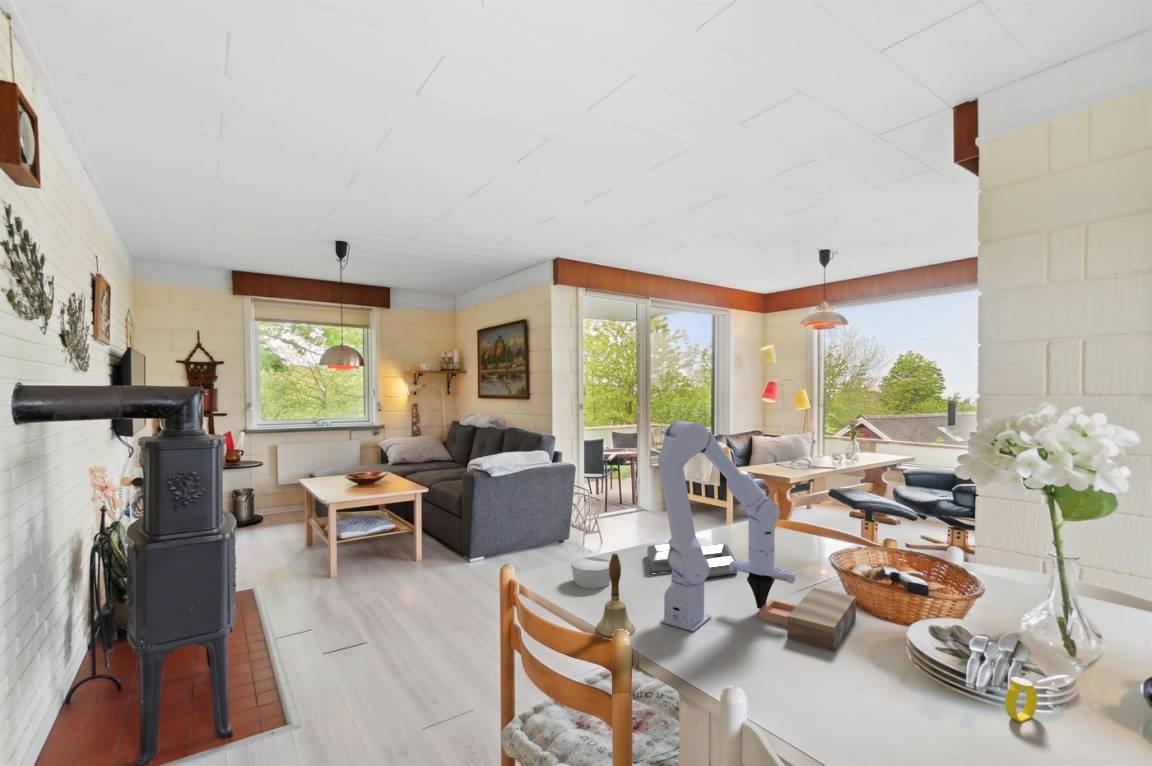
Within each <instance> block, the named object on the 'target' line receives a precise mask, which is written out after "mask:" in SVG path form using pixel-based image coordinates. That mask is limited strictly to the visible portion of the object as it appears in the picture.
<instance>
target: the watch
mask: <svg viewBox="0 0 1152 766" xmlns="http://www.w3.org/2000/svg"><path fill="white" fill-rule="evenodd" d="M1009 683H1010V684H1011V685H1010V686H1009V687H1008V689H1007V692H1006V694H1005V695H1006V696H1005V703H1004V704H1005V705H1004V707H1005V710H1006V714H1007V716H1008V717H1009V718H1011V719H1012V720H1014V721H1016V722H1018V723H1023V722H1025V721H1028V720H1030V719H1033V717H1034V714H1035V712H1036V709H1037V706H1038V705H1037V704H1038V694H1037V691H1036V689H1035V687H1034V685H1033V682H1031V681H1030V680H1028V679H1026V678H1023V677H1017V676H1011V677H1010V681H1009ZM1023 690H1024V691H1025V697H1026V699H1025V703H1026V705H1025V703H1024V706H1023V708H1022V710H1021V712H1018V713H1017V702H1018V699H1019V695H1020V694H1021V692H1022V691H1023Z"/></svg>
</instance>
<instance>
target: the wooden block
mask: <svg viewBox="0 0 1152 766" xmlns="http://www.w3.org/2000/svg"><path fill="white" fill-rule="evenodd" d="M796 605H797V606H796V607H795V608H794V609H793V610H792V611H791V612H790V613H789V615H788V616H787V626H786V629H787V631H786V634H787V637H786V639H787V638H788V639H787V640H792V641H794V640H795V641H794V642H798V643H801V644H805V645H809V646H812V647H816V648H820V649H823V650H826V651H827V650H828V651H831V652H836V649H837V648H838V646H839V645H840V643H841V642H842V640H843V638H845V635H846V634H847V632H848V631H849V629H850V627H851V626H852V624H853V623H854V621H855V619H856V618H857V597H856V596H854V595H851V594H845V593H840V592H838V591H837V592H836V591H831V590H827V589H823V588H817V587H812V589H811V590H810V591H809V592H808V593H807V594H806V595H805V596H804V597H803V598H802V599H801V601H800V602H799V603H798V604H796Z"/></svg>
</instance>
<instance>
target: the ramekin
mask: <svg viewBox="0 0 1152 766" xmlns="http://www.w3.org/2000/svg"><path fill="white" fill-rule="evenodd" d="M610 560H611V559H610ZM610 560H609V559H606V558H604V557H603V558H602V557H598V556H597V557H596V556H588V557H587V556H586V557H579V558H576V559H573V560H572V562H571V564H570V568H571V571H572V577H573V582H574V584H575V585H576V586H578V587H580V588H582V589H586V590H587V589H589V590H597V589H602V588H606V587H607V586H609V585H610V583H611V579H610V575H609V564H610Z"/></svg>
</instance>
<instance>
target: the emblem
mask: <svg viewBox="0 0 1152 766" xmlns="http://www.w3.org/2000/svg"><path fill="white" fill-rule="evenodd" d="M701 547H702V551H703V555H704V557H705V558H706V559H707V561H708V563H709V567H710V570H709V574H708V576H707V578H706V579H708V578H709V579H710V578H716V577H723V576H728V575H729V576H730V575H736V574H738V572H739V571H731V570H730V562H731V561H732V560H734V561H737V560H736V559H735V556H734V555H733V552H732V550H731V549H730V548H729V546H728V544H726V543H719V544H709V545H701ZM668 552H669V543H668V542H667V543H666V542H665V543H659V544H658V543H657V544H652V545H648V546H647V548H646V555H647V561H648V567H649V570H650V571H651V572H650V571H649V572H650V574H651V573H661V572H668V573H671V572H670V571H672V568H671V567H670V565H669V563H668V560H667V556H668ZM661 574H662V573H661Z"/></svg>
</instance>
